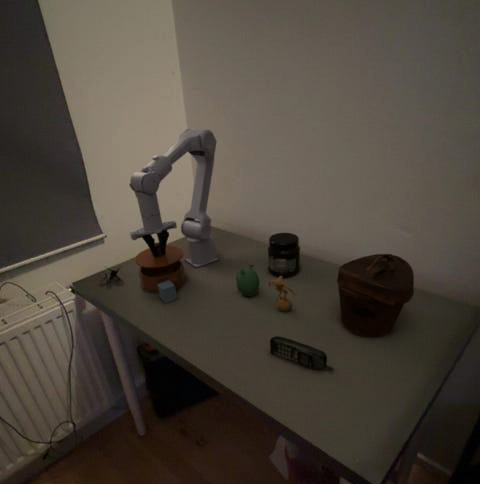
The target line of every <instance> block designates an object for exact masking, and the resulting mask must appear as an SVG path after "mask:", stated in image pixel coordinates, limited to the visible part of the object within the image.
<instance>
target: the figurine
mask: <svg viewBox="0 0 480 484" xmlns="http://www.w3.org/2000/svg"><path fill="white" fill-rule="evenodd" d="M272 284H274V286H275V287H276V288H275V289H276V291H277V292H278V297H279V299H278V300H277V308H278V310H280V311H281V312H287V311H289V310H291V308H292V304H293V303H292V301H291V299H290V298H289V297H287V295H288V293H289V292H288V291H290V292H291V293H292V294H293V295H296V293H295V291H294V290H293V289H292V288H291V287H290V286H289V285H287V284H286V283H285V282H284V277H282V276H280V277H278V278H277V279H273V280H270V281H268V287H271V286H272ZM285 288H286V289H288V291H287V290H286V289H285ZM282 293H283V296H282Z"/></svg>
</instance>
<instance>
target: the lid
mask: <svg viewBox="0 0 480 484" xmlns="http://www.w3.org/2000/svg"><path fill="white" fill-rule="evenodd" d="M155 249H156V253H157V257H154V256H153V255H152V252H151V250H150V248H149V247H148V248H146V249H144V250H142V251H140V252H139V253H137V255H136V256H135V258H134V262H135V264H136V265H137V266H140V267H141V266H142V267H146V268H159V267H164V266H168V265H171V264H174V263H176V262H177V261H179V260H180V261H181V260H182V259H183V257H184V250H183V249H182V248H180V247H179V246H176V245H168V244H166V254H163V251H162V247H161V243H159V241H158V242H155Z"/></svg>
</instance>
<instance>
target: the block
mask: <svg viewBox="0 0 480 484" xmlns="http://www.w3.org/2000/svg"><path fill="white" fill-rule="evenodd" d="M157 285H158V290H159V293H158V294H159V298H160V300H162V301H163V302H164V303H165V304H168V303H171V302H173V301H175V300H177V299H178V296H177V291H176V290H177V289H175V285H174V284H173V283H172V282H171V281H170V280H168V281H165V282H163V283H160V284H157Z"/></svg>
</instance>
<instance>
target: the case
mask: <svg viewBox="0 0 480 484" xmlns="http://www.w3.org/2000/svg"><path fill="white" fill-rule="evenodd" d="M414 275H415V274H414V270H413V268H412V266H411V264H410V263H409V262H408V261H407V260H406V259H404V258H402V257H401V256H399V255H395V254H391V253H377V254H370V255H365V256H362V257H359V258H355V259H353V260H350V261H347V262H346V263H343V264H341V265H340V266H339V268H338V274H337V278H336V283H337V288H338V297H339V306H340V318H341V323H342V325H343V326H344V328H345V329H347V330H348V331H349V332H351V333H353V334H355V335H358V336H362V337H368V338H375V337H376V338H378V337H382V336H384V335H387V334H390V333H391V332H392V331H393V328H394V326H395V323H396V321H397V320H398V317H399V315H400V313H401V312H402V309H403V308H404V306H405V304H408V303H409V302H410V301H411V300H412V298H413V297H414V294H415V288H414V287H415V286H414V285H415V284H414V283H415V276H414Z"/></svg>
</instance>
